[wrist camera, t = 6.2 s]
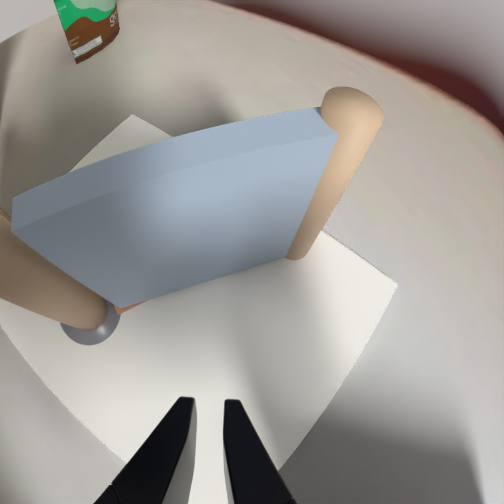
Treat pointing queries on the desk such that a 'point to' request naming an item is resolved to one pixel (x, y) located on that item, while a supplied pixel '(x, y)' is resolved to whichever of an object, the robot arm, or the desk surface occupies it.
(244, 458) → the robot arm
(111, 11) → the food container
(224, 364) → the card
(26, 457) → the desk surface
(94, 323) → the fixed fence
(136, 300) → the fence panel
